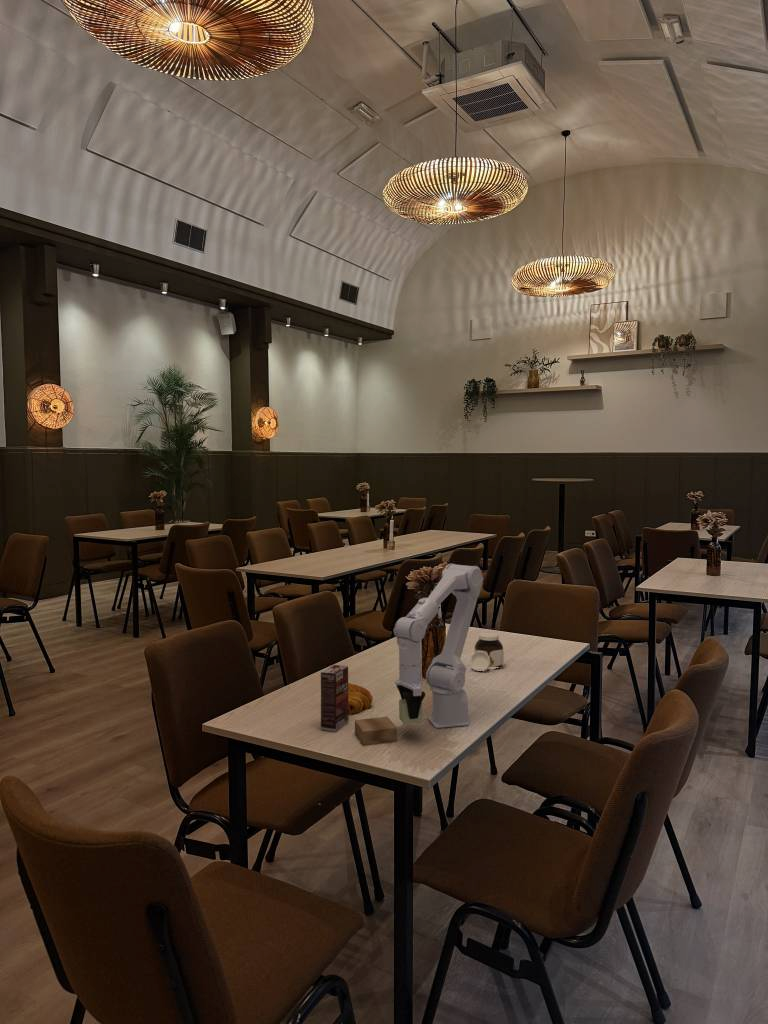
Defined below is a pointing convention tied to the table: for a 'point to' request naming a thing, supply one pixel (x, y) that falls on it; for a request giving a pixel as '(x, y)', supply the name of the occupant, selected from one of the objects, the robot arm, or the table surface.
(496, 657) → the spread jar
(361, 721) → the block
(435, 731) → the table surface
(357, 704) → the croissant
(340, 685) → the supplement box
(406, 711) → the cube
